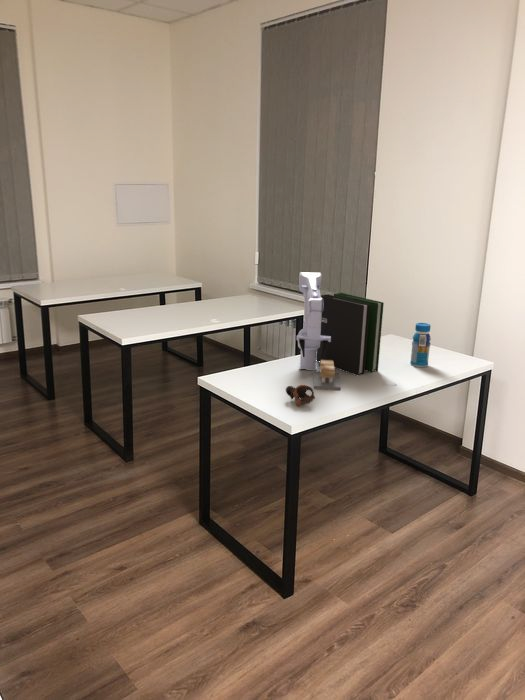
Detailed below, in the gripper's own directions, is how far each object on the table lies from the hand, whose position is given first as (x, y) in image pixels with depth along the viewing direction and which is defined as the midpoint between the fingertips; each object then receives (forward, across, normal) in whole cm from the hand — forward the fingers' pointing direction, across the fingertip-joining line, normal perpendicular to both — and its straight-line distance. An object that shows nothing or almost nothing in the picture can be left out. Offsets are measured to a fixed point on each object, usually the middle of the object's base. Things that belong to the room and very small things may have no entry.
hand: (312, 356), depth 252 cm
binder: (+10, +17, +21) cm, 29 cm away
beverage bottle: (+10, +52, +28) cm, 60 cm away
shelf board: (+6, +6, -4) cm, 9 cm away
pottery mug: (+10, -5, -30) cm, 32 cm away
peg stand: (+10, +6, -4) cm, 12 cm away
